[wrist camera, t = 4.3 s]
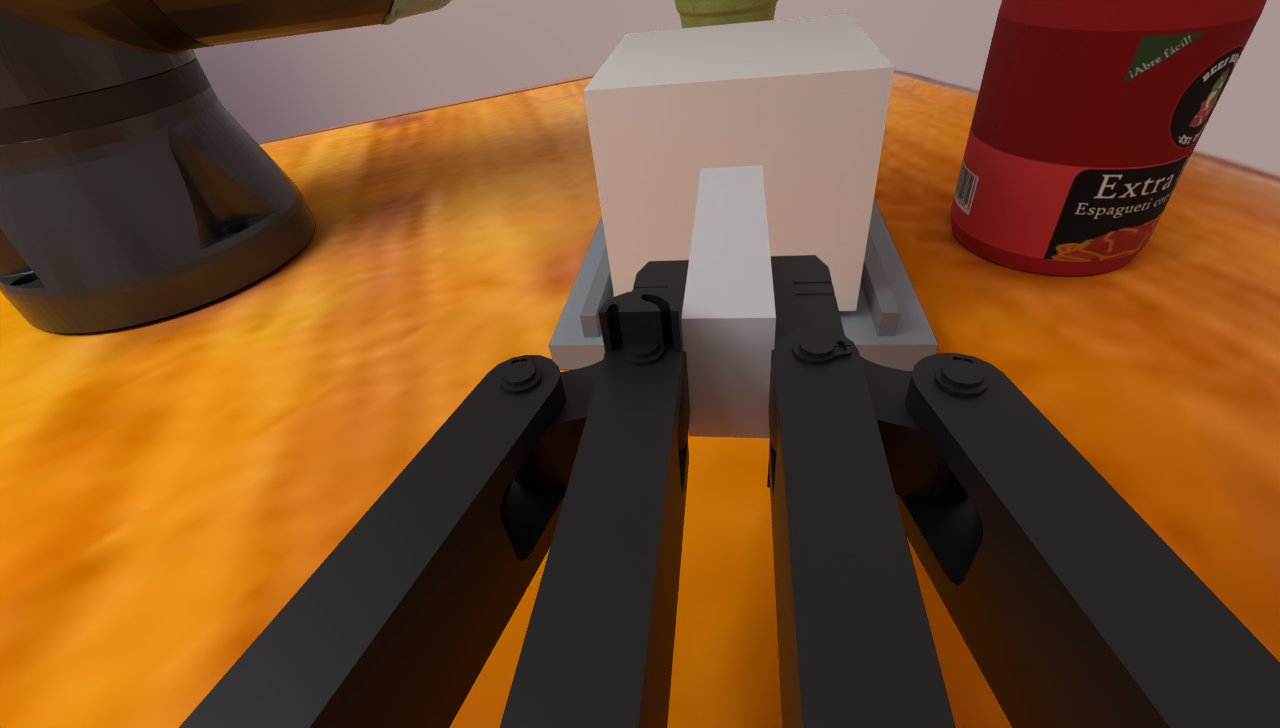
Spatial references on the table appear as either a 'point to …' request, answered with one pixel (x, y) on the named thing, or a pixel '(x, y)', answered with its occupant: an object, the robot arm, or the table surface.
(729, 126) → the block
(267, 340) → the table surface
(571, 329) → the board
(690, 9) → the plant pot
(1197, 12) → the canned food
